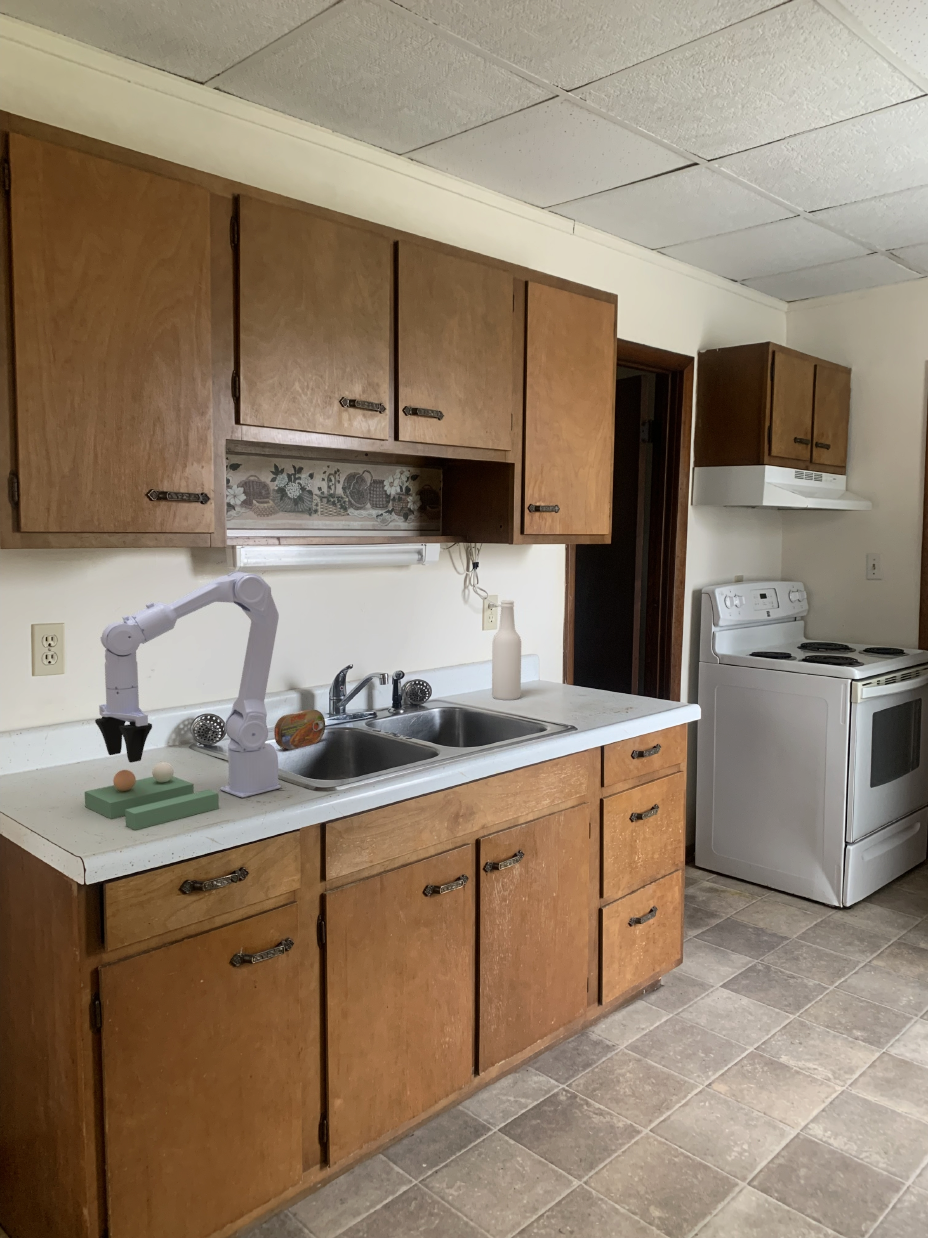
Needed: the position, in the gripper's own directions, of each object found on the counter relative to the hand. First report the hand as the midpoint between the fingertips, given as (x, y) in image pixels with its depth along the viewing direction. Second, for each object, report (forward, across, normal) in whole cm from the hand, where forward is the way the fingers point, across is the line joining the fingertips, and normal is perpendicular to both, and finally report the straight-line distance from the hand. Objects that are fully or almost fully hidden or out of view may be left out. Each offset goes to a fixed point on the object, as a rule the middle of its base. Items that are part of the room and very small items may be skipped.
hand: (124, 757), depth 175 cm
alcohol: (+10, -16, +134) cm, 135 cm away
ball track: (+10, +3, +3) cm, 11 cm away
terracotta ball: (+5, -1, 0) cm, 5 cm away
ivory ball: (+5, -1, +8) cm, 10 cm away
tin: (+10, -14, +53) cm, 55 cm away
